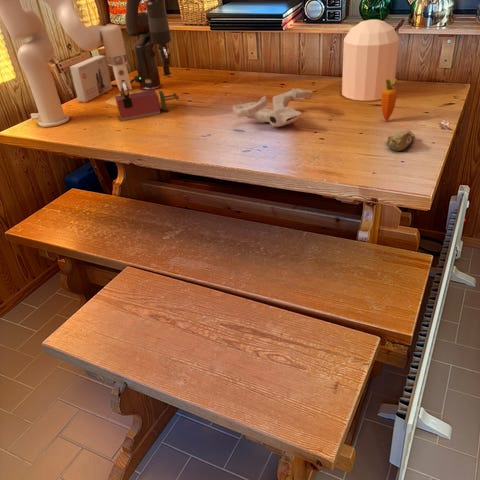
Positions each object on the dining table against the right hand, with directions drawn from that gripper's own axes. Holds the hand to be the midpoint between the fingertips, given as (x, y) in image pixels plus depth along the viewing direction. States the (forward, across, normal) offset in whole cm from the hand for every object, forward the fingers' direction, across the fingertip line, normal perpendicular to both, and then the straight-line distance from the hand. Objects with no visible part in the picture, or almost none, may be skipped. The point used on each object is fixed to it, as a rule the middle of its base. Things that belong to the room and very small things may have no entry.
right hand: (167, 74), depth 189 cm
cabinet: (+14, 0, +14) cm, 20 cm away
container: (+14, -27, -77) cm, 83 cm away
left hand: (+9, 0, +18) cm, 20 cm away
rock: (+14, -79, -58) cm, 99 cm away
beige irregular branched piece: (+14, -41, -32) cm, 54 cm away
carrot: (+14, -58, -66) cm, 89 cm away
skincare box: (+14, +40, +29) cm, 52 cm away
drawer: (+13, 0, +8) cm, 15 cm away
